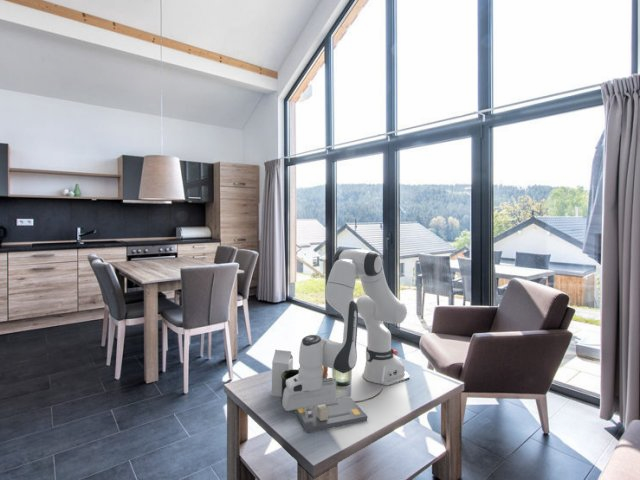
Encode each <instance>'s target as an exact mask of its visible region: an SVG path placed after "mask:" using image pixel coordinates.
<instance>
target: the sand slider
mask: <svg viewBox="0 0 640 480" xmlns="http://www.w3.org/2000/svg"><path fill="white" fill-rule="evenodd" d="M316 415H317V417H318V418H319V420H320V421H323V420H328V408H327V407H326V406H325V404H324V405H318V406H317V414H316Z"/></svg>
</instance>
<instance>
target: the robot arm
mask: <svg viewBox="0 0 640 480" xmlns="http://www.w3.org/2000/svg"><path fill="white" fill-rule="evenodd" d="M383 262H384V261H383V257H382V256H381V254H380V253H379V252H376V251H374V250H366V249H360V248H357V249H352V248H351V249H349V248H348V249H347V248H342V249H338V250H337V251H336V252H335V253H334V255H333V257H332V268H331V269H330V273H329V274H328V277H327V282H326V284H325V285H326V286H325V290H324V298H325V301H326V302H327V303H328V305H330V307H331V308H333V309H334V310H335V311H337V312H338V313H340V315H341V316H342V318H343V324H344V325H343V332H342V335H343V337H342V342H338V341H333V340H331V339H327V338H323V337H321V336H319V335H318V334H317V335H316V334H309V335H306V336H304V337H303V338H302V339H301V342H300V344H299V352H298V363H299V368H300V369H299V368H298V369H299V374H297V375H295V376H293V377H291V378H289V379H287V380H286V386H287V387H286V388H285V389H284V393H283V401H282V402H281V405H282V407H283V409H284V410H285V411H286V412H290V411H295V410H296V409H301V408H303V409H304V411H305V417H306V418H310V417H314V413H315V411H316V409H317V406H318V405H324V404H329V403H334V402H335V401H336V399H337V398H338V397H337V388H336V387H337V380H336V378H334V377H327V378H324V379H323V371H322V366H326V367H328V369H332V370H335V371H337V372H339V373H341V374H346V373H348V372H350V371H352V370H353V369H354V368H355V367H356V364H357V357H358V355H357V336H358V324H359V323H358V321H359V315H360V317H361V318H362V320H363V322H364V324H365V327H366V328H365V329H366V333H367V341H366V342H367V343H366V344H367V345H366V349H365V366H364V369H363V373H362V377H363V379H364V380H366V381H368V382H370V383H375V384H380V383H381V385H383V386H390V384H391V385H394V384H396V383H395V382H397V383H399V382H398V381H400V382H402V381H401V380H404V379H407V378H409V379H410V374H409V373H408V372H407V370H405V365H404V363H402V361H401V359H399V358H397V357H396V356H398V352H399V351H398V350H396V349H393V348H392V347H391V345H392V334H391V331H390V330H389V329H388V327H386V326H385V324H384V322H385V323H389V324H402V323H403V322H404V321H405V319H406V318H407V316H408V315H407V314H408V309H407V306H406V304H405V303H404V302H402V301H401V300H400V299H398V298H397V296H395V295H394V293H393V292H392V291H391V289H390V286H389V285H388V282H387V279H386V275H385V271H384V266H383V264H384V263H383ZM357 276H358V277H359V278H360V282H361V286H362V289H363V292H364V294H362V295H360V296H359V297H358V298H357V299H356V302H355V299H354V290H355V286H356V278H357ZM407 380H408V379H407ZM404 381H405V380H404ZM393 383H394V384H393ZM308 407H312V409H311V411H306V410H308Z"/></svg>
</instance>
